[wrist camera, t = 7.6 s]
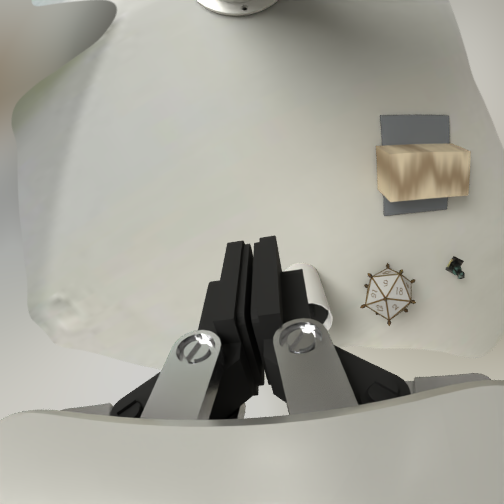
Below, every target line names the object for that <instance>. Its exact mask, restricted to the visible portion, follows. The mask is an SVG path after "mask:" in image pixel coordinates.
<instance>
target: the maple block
mask: <svg viewBox="0 0 504 504" xmlns="http://www.w3.org/2000/svg"><path fill="white" fill-rule="evenodd" d="M470 154H471V151H468V150H466V149H464V148H461V147H459V146H457V145H454V144H406V145H385V146H376V156H377V182H378V190H379V191H380V192H381V193H382V194H383V195H384V196H385V197H386V198H387V199H388V200H389V201H390V202H397V201H408V200H419V199H430V198H441V197H453V196H466V195H468V192H469V177H470Z"/></svg>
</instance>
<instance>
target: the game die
mask: <svg viewBox="0 0 504 504" xmlns="http://www.w3.org/2000/svg"><path fill="white" fill-rule="evenodd" d="M386 267H387V269H385V270H383V271H381V272H379V273H377V274H376V275H374V276H372V274H371V273H368V276H369V277H371V279H370V282H369V285H367V284H365V285H364V286H365V288H368V289H367V296H366V302H365V304H363V305H362V306H361V307H360V308H365V306H366V307H368V308H370V309H371V310H373V311H374V312H376V315H381V316H382V317H384V318H386V319H387V320H388V323H387V324H388V325H389V326H390V324H391V321H390V320H391V319H392V318H394V317H395V316H397V315H398V314H399V313H401V312H402V311H403V310H404V311H405V312H408V310H407V309H406V307H407V306H408V305H409V304H410V303H413V304H414V303H416V302H415V300H411V283H413V282H415V280H414V279H413V280H411V281H410V280H408V279H407V278H406V277H404V276H403V275H402V273H403V270H400V271H399V273H398V272H396V271H394V270H392V269H390V268H389V264H388V263H387V265H386Z"/></svg>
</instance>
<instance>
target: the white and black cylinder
mask: <svg viewBox="0 0 504 504" xmlns="http://www.w3.org/2000/svg"><path fill="white" fill-rule="evenodd" d="M298 269H303V275H304V281H305V286H306V292H307V298H308V304H309V310H310V317H311V319H313V320H316V321H318V322H320V323H321V324H323V325H324V326H325V328H326V329H327V331H329V329H330V327H331V326H332V320H333V317H332V314H331V310H330V307H329V304H328V301H327V298H326V295H325V292H324V289H323V286H322V283H321V280H320V277H319V274H318V272H317V270H316V269H315V268H314V267H313V266H312V265H309V264H306V263H296V264H293V265H291V266H289V267H288V268H287V269H286V270H284V271H291V270H298Z"/></svg>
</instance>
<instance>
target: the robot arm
mask: <svg viewBox="0 0 504 504" xmlns="http://www.w3.org/2000/svg"><path fill="white" fill-rule="evenodd" d="M196 1H197V2H198V3H200V4H201V5H202V6H203V7H205V8H207V9H208V10H210V11H213V12H216V13H219V14H224V15H231V16H241V15H249V14H253V13H257V12H259V11H262V10H264V9H266V8H268V7H270V6H271V5H273V4H274V3H276V2H277V1H278V0H196ZM243 8H247V10H246V11H244V10H243ZM264 369H265V373H266V377H267V380H268V384H269V385H271V386H272V390H273V394H274V395H276V396H277V397H279V398H280V399H282V400H283V401H285V402H286V403H287V407H288V412H289V415H286V416H274V417H262V418H247V419H244V414H245V407H246V406H245V402H246V401H247V400H248V399H249V398H251V397H252V396H255V395H258V386H260V385H264ZM0 504H504V380H491V379H490V378H489V377H487V376H485V375H483V374H478V373H471V374H460V375H448V376H432V377H415V378H414V381H404V380H403V379H401V378H400V377H398V376H397V375H395V374H392V373H391V372H388V371H386V370H384V369H382V368H380V367H378V366H375V365H374V364H371V363H369V362H367V361H365V360H363V359H361V358H359V357H357V356H355V355H353V354H351V353H349V352H347V351H345V350H343V349H341V348H339V347H337V346H335V345H333V342H332V340H331V338H330V335H329V333H328V331H327V329H326V328H325V326H324V325H323V324H321V323H320V322H318V321H316V320H313V319H311V317H310V310H309V304H308V298H307V292H306V286H305V281H304V275H303V269H298V270H291V271H284V272H282V269H281V264H280V258H279V252H278V246H277V241H276V236H269V237H263V238H260V242H257V243H254V257H253V254H252V249H251V245H250V244H245V243H244V241H237V242H231V243H227V248H226V253H225V258H224V263H223V268H222V273H221V278H220V281H213V282H210V283H209V285H208V289H207V293H206V298H205V302H204V306H203V311H202V315H201V319H200V324H199V328H198V330H197V331H193V332H190V333H187V334H185V335H184V336H182V337H181V338H179V339H178V340H177V341H176V342H175V344H174V345H173V347H172V349H171V351H170V353H169V355H168V357H167V360H166V362H165V364H164V366H163V368H162V370H161V372H159V373H158V374H157V375H155V376H154V377H152V378H151V379H150V380H148V381H146V382H145V383H144V384H142V385H141V386H139V387H138V388H136V389H135V390H133V391H132V392H130V393H129V394H127V395H126V396H125V397H123V398H122V399H121V400H119V401H118V402H117V403H116V404H115V405H114V406H112V405H111V404H110V403H108V404H102V405H95V406H87V407H79V408H69V409H64V410H60V411H58V410H30V411H22V412H18V413H14V414H12V415H9V416H7V417H5V418H3V419H2V420H0Z"/></svg>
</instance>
